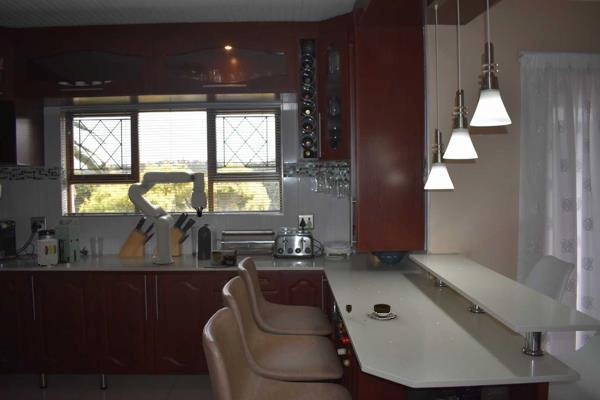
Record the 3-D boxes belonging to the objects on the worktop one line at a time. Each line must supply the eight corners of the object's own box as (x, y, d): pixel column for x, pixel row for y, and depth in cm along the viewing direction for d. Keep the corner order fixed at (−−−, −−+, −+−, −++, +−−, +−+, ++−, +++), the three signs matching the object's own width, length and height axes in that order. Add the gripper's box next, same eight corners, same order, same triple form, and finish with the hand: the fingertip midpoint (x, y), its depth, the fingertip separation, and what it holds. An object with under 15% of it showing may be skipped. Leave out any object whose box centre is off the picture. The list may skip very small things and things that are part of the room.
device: (55, 260, 337) (54, 218, 335) (65, 259, 344) (64, 217, 342) (70, 262, 329) (68, 219, 327) (80, 260, 335) (78, 218, 334)
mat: (203, 267, 308) (203, 266, 307) (215, 262, 324) (215, 261, 324) (221, 268, 304) (221, 267, 304) (232, 263, 321) (232, 262, 321)
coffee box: (213, 262, 320) (236, 263, 318) (210, 264, 313) (234, 265, 312) (213, 249, 319) (236, 250, 318) (210, 251, 313) (234, 251, 311)
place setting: (393, 325, 190) (393, 310, 190) (344, 320, 197) (344, 306, 197) (399, 312, 207) (399, 299, 207) (353, 309, 213) (353, 296, 213)
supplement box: (43, 266, 317) (42, 241, 316) (37, 264, 323) (36, 239, 322) (58, 263, 325) (57, 239, 324) (51, 262, 330) (50, 238, 329)
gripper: (186, 190, 321) (186, 217, 322) (206, 190, 317) (207, 217, 318) (191, 189, 328) (192, 216, 330) (211, 189, 325) (212, 216, 326)
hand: (199, 217), depth 324 cm, fingers closed
